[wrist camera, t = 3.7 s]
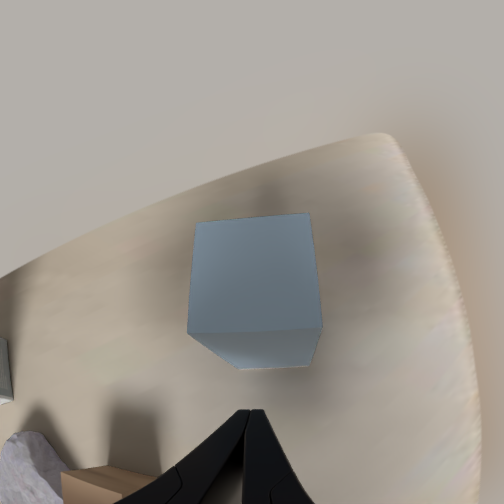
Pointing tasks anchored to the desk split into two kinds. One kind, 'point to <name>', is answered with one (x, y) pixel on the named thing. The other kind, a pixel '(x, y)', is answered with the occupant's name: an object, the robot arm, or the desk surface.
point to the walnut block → (100, 485)
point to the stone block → (30, 470)
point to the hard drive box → (4, 374)
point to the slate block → (256, 291)
